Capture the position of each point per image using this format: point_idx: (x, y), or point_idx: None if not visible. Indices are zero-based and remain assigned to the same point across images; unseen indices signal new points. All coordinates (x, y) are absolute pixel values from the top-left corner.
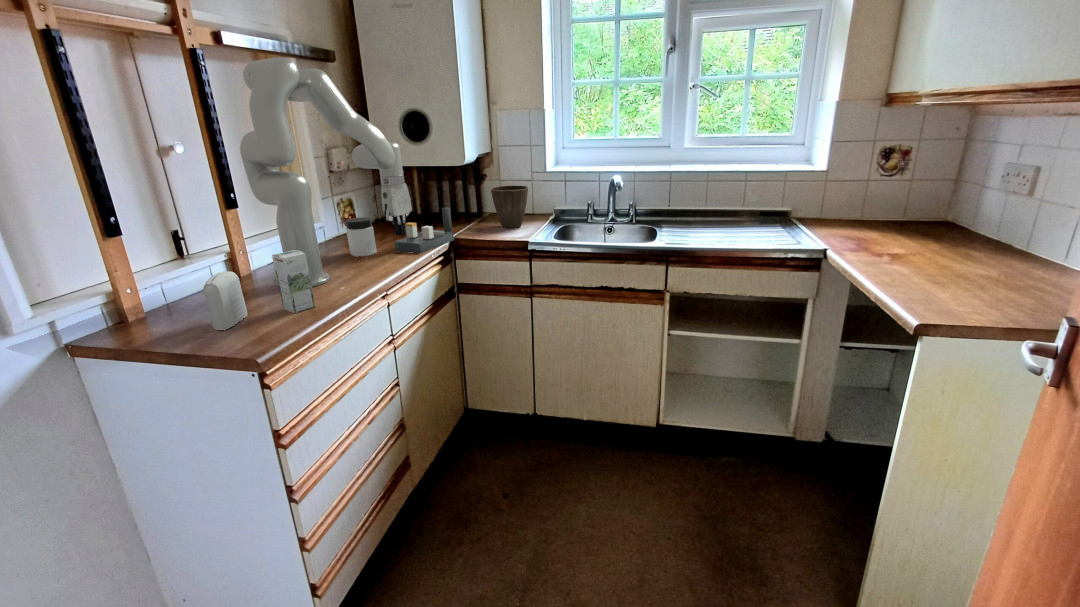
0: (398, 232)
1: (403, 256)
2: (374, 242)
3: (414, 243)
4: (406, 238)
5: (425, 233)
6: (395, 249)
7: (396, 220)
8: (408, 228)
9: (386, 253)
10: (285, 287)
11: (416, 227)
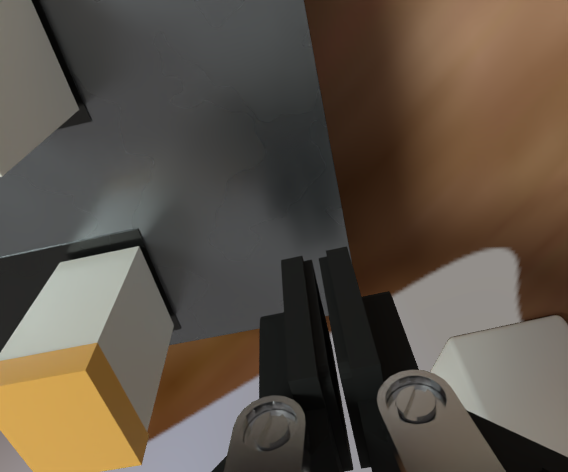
0: (390, 303)
1: (462, 18)
2: (494, 404)
3: (305, 16)
4: (191, 308)
5: (16, 64)
6: None
7: (492, 461)
8: (134, 375)
9: (432, 261)
10: None
11: (13, 338)
